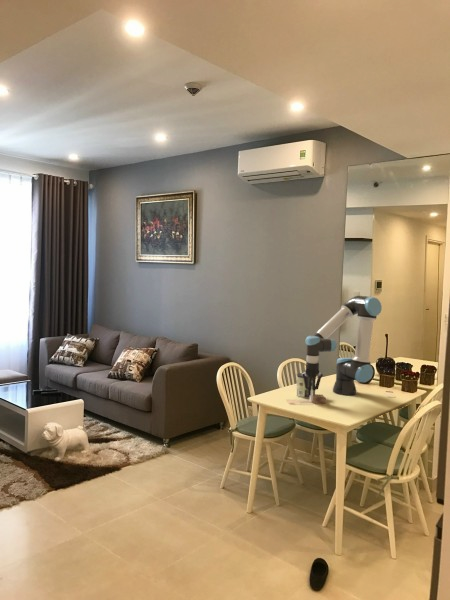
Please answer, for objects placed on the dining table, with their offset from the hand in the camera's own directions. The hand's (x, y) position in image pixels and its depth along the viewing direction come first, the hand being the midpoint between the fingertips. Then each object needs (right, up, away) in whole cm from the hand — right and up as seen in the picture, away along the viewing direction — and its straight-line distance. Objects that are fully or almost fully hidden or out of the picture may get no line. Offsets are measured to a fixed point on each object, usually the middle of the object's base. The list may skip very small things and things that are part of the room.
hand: (311, 400), depth 294 cm
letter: (-7, -1, -1) cm, 7 cm away
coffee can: (-2, -1, +14) cm, 14 cm away
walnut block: (+4, -1, 0) cm, 4 cm away
